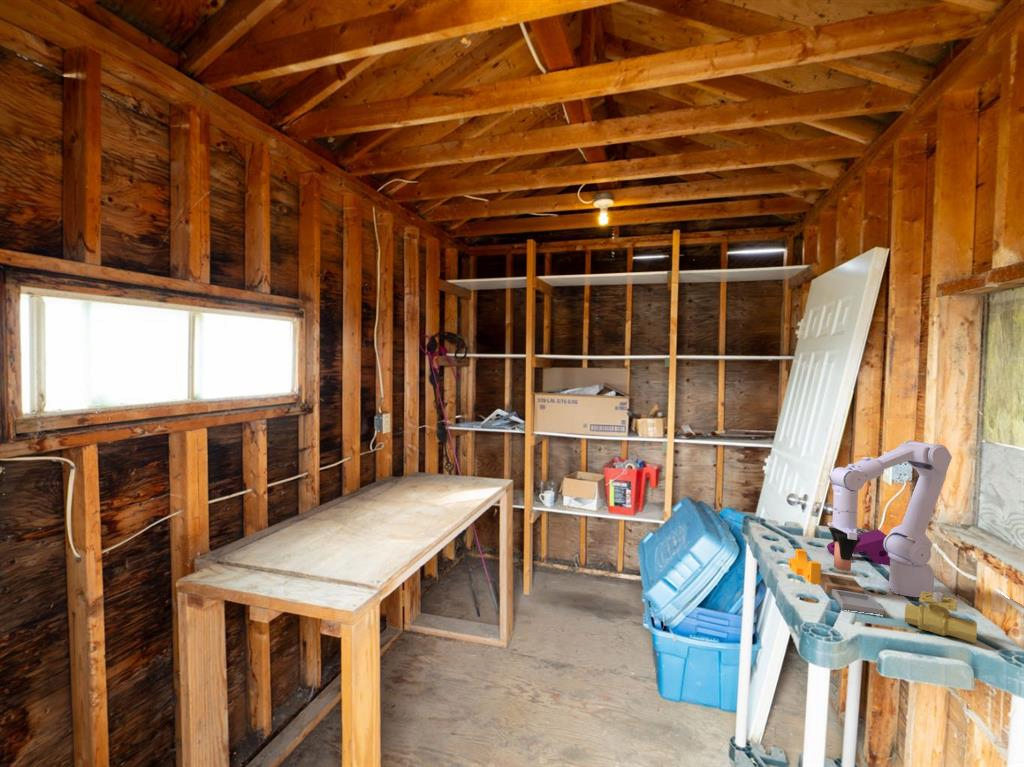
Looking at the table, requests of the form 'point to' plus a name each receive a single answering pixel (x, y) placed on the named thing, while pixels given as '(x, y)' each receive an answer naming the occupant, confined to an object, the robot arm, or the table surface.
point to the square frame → (839, 584)
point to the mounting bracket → (869, 546)
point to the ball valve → (940, 617)
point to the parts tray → (856, 602)
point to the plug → (840, 560)
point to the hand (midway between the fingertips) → (843, 556)
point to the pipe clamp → (805, 567)
